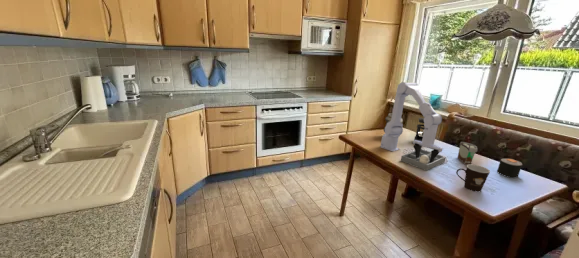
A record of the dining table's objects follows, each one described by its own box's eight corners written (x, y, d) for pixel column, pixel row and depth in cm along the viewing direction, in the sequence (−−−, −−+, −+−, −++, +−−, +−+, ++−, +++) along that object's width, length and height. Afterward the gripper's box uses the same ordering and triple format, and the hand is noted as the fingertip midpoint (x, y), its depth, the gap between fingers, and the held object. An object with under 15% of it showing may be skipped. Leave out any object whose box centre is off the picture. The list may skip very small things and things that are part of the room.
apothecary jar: (379, 137, 184) (382, 113, 179) (388, 134, 191) (392, 111, 186) (393, 141, 174) (398, 117, 169) (403, 139, 181) (407, 115, 176)
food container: (477, 166, 139) (482, 149, 136) (465, 165, 140) (470, 148, 137) (467, 158, 151) (471, 142, 148) (456, 156, 152) (460, 141, 149)
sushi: (493, 171, 134) (497, 157, 131) (505, 170, 136) (509, 156, 133) (509, 178, 126) (514, 164, 124) (521, 177, 128) (526, 163, 126)
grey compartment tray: (400, 160, 142) (401, 155, 141) (419, 153, 154) (420, 148, 153) (426, 170, 131) (427, 165, 130) (444, 161, 143) (445, 156, 142)
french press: (410, 139, 181) (416, 109, 174) (421, 139, 182) (427, 109, 176) (420, 145, 169) (427, 112, 163) (432, 145, 171) (440, 112, 164)
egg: (417, 164, 136) (419, 154, 134) (421, 162, 139) (423, 153, 137) (425, 167, 133) (427, 157, 131) (429, 165, 135) (431, 155, 134)
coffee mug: (484, 188, 115) (490, 168, 112) (483, 195, 109) (489, 174, 106) (455, 179, 122) (460, 160, 119) (452, 185, 116) (457, 166, 113)
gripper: (447, 138, 128) (441, 163, 131) (419, 131, 139) (414, 153, 143) (441, 141, 123) (435, 165, 127) (412, 133, 135) (408, 156, 139)
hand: (424, 159), depth 135 cm, fingers open, 7 cm apart
